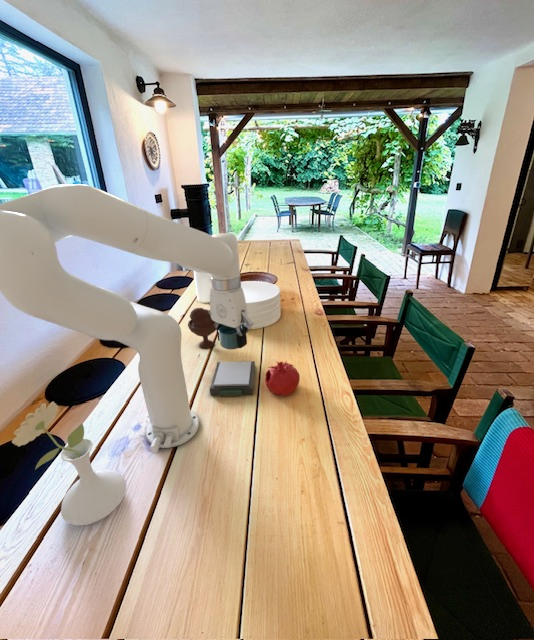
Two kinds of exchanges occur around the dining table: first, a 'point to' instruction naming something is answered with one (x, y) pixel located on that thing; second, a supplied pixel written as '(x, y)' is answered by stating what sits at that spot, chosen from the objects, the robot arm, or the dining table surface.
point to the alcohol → (203, 286)
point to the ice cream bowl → (202, 326)
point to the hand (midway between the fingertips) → (232, 342)
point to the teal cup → (228, 337)
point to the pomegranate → (282, 379)
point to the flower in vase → (93, 486)
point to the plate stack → (262, 302)
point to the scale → (233, 378)
